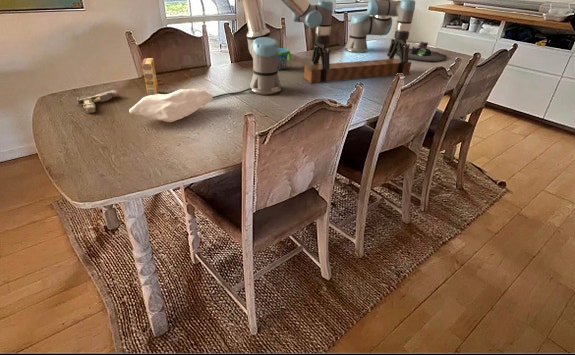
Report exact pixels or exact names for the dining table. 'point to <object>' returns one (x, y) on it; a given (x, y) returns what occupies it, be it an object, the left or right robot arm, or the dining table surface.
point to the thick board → (355, 70)
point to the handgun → (95, 100)
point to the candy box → (150, 76)
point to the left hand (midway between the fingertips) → (319, 78)
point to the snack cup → (283, 58)
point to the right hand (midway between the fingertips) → (394, 72)
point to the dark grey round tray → (423, 53)
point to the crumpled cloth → (171, 104)
